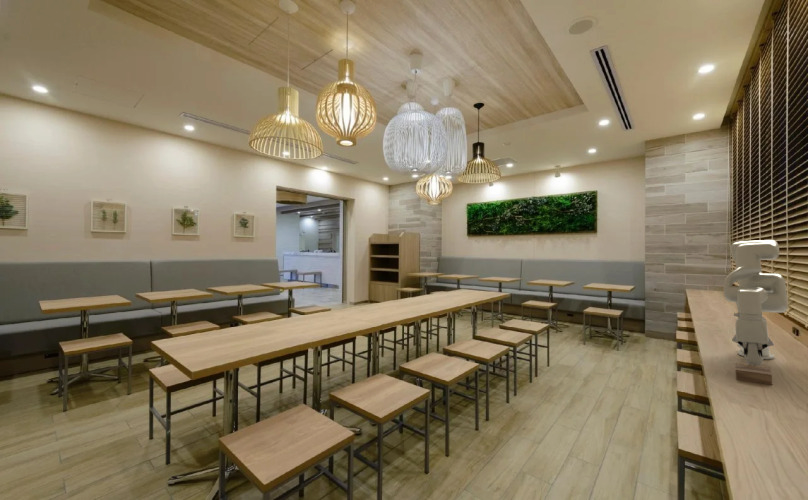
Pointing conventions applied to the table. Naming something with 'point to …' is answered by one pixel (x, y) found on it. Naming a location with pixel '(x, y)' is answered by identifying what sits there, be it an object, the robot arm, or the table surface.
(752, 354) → the salt shaker
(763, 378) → the block
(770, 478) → the table surface
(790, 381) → the table surface
